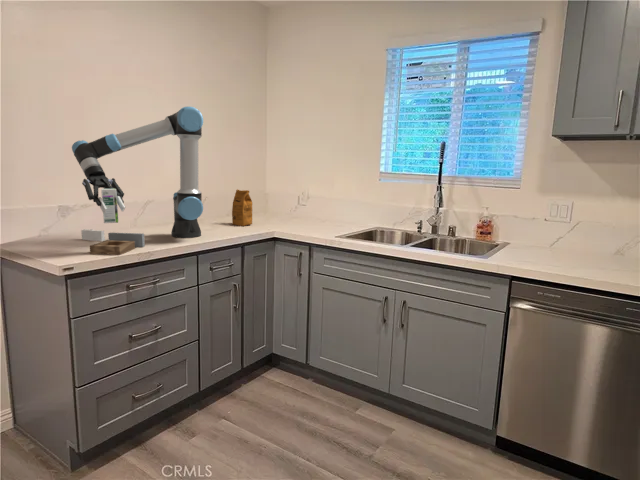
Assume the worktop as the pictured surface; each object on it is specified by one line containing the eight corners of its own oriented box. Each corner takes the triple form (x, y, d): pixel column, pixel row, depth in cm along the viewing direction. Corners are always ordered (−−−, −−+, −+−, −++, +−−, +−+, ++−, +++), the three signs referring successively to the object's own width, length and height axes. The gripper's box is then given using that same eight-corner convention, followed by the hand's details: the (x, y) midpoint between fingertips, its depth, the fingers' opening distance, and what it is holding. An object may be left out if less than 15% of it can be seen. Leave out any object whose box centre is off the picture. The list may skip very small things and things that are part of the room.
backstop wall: (144, 246, 205) (144, 233, 204) (142, 247, 203) (141, 234, 202) (111, 245, 206) (110, 232, 205) (109, 245, 204) (108, 233, 203)
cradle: (134, 248, 199) (134, 241, 198) (119, 254, 186) (119, 246, 185) (107, 247, 199) (106, 240, 199) (90, 253, 187) (89, 245, 186)
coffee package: (242, 223, 284) (241, 188, 280) (254, 225, 276) (254, 190, 272) (229, 224, 277) (228, 189, 273) (242, 226, 269) (241, 190, 265)
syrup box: (103, 223, 187) (101, 189, 184) (104, 221, 192) (101, 188, 189) (118, 222, 189) (116, 188, 186) (118, 221, 194) (116, 188, 192)
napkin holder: (110, 241, 217) (109, 230, 216) (85, 244, 209) (84, 232, 208) (100, 237, 228) (100, 226, 227) (76, 239, 220) (75, 228, 219)
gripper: (112, 175, 204) (133, 213, 197) (66, 176, 188) (87, 218, 181) (118, 164, 200) (139, 202, 193) (71, 164, 184) (93, 206, 177)
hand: (114, 210), depth 187 cm, fingers closed on syrup box, 7 cm apart
